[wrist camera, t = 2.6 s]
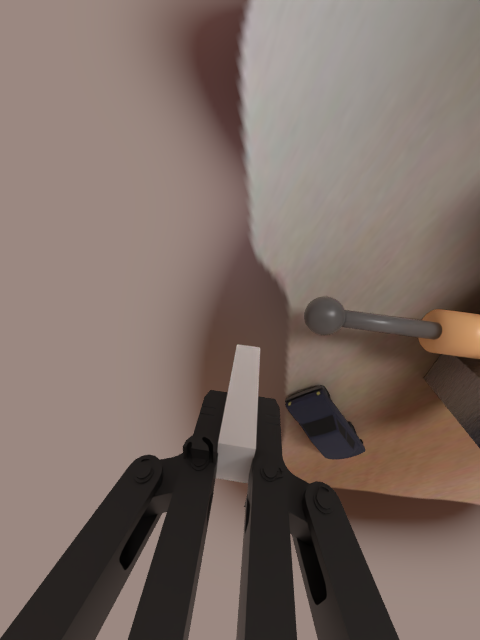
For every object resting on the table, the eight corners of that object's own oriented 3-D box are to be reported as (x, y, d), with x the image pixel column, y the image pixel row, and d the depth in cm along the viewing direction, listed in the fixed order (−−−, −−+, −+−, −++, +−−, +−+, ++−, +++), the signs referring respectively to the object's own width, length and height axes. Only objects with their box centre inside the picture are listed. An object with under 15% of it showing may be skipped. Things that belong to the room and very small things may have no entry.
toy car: (320, 377, 31) (328, 407, 27) (361, 435, 36) (374, 468, 32) (282, 391, 33) (284, 422, 29) (327, 444, 38) (334, 476, 34)
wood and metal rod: (308, 264, 22) (323, 294, 16) (560, 295, 21) (679, 340, 15) (293, 325, 26) (300, 368, 20) (506, 354, 25) (583, 409, 19)
